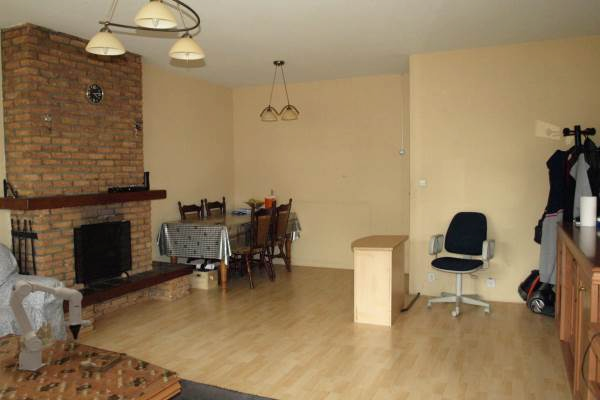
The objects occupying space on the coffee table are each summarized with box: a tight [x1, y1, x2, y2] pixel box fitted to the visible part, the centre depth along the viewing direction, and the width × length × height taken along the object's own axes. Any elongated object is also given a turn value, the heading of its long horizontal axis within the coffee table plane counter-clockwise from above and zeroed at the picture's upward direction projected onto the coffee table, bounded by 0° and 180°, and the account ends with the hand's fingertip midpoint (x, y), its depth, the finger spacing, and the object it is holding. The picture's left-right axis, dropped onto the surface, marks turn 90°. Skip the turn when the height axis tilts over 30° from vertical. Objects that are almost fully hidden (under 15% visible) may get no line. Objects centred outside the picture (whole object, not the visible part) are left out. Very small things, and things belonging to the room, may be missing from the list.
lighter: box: [80, 360, 98, 366], centre depth 236 cm, size 7×2×8 cm
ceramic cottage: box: [19, 321, 57, 351], centre depth 264 cm, size 16×16×15 cm
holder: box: [78, 352, 123, 373], centre depth 238 cm, size 14×15×2 cm
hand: (75, 338), depth 247 cm, fingers closed
